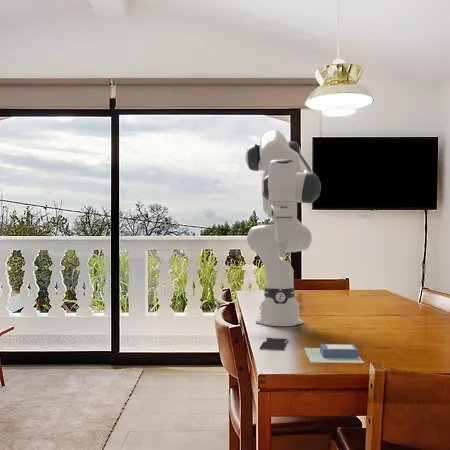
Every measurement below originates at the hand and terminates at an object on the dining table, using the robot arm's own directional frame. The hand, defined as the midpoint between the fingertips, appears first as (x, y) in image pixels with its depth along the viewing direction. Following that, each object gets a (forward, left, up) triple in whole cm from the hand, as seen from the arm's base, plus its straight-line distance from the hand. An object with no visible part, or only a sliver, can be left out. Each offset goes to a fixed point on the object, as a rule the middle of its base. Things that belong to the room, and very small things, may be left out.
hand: (282, 257), depth 150 cm
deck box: (+4, +11, -28) cm, 30 cm away
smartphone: (-8, -2, -30) cm, 31 cm away
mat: (+4, +14, -29) cm, 33 cm away
